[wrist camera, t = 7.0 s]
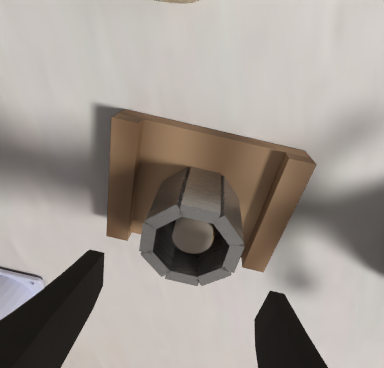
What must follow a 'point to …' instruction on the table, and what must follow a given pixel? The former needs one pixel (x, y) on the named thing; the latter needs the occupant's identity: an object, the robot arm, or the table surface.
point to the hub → (198, 210)
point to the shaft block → (208, 160)
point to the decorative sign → (178, 1)
